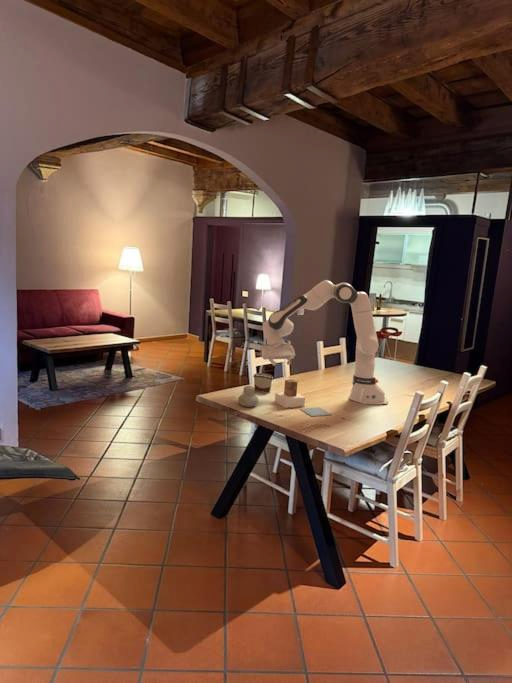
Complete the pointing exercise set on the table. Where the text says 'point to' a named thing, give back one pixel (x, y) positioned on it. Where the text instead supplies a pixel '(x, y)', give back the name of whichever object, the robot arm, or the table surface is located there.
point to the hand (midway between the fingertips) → (281, 364)
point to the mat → (315, 411)
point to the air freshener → (248, 397)
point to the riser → (289, 400)
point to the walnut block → (290, 388)
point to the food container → (262, 382)
